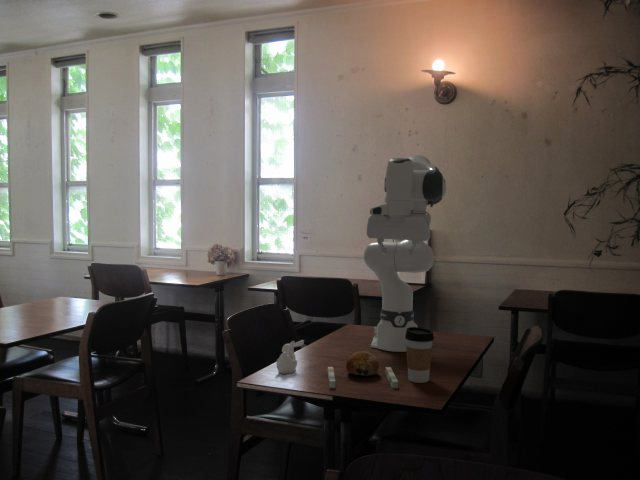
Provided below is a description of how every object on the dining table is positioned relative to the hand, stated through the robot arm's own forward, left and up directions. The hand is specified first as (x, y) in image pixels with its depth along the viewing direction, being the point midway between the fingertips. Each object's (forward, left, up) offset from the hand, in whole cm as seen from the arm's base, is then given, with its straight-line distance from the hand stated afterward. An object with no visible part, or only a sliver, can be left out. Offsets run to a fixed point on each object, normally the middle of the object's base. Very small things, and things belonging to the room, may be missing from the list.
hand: (397, 254), depth 180 cm
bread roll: (+9, -12, -37) cm, 40 cm away
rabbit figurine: (+4, -33, -36) cm, 49 cm away
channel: (+14, -12, -36) cm, 40 cm away
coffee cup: (+13, +5, -36) cm, 39 cm away
